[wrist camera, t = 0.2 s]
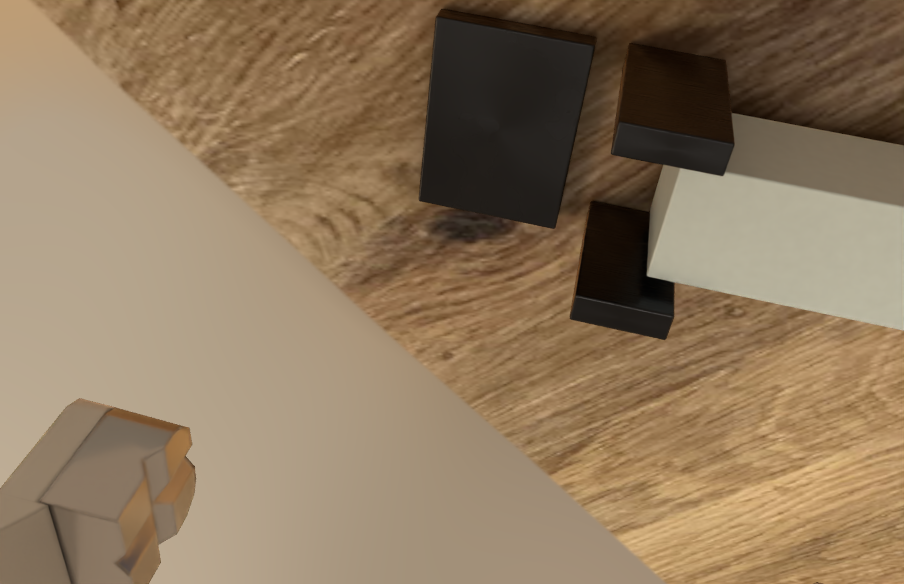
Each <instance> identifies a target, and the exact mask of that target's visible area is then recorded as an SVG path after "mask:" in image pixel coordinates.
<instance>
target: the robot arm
mask: <svg viewBox="0 0 904 584" xmlns="http://www.w3.org/2000/svg"><path fill="white" fill-rule="evenodd" d="M191 446H192V440H191V434H190V429H189V428H188V427H184V426H181V425H177V424H173V423H170V422H166V421H163V420H159V419H155V418H152V417H148V416H144V415H141V414H137V413H133V412H129V411H126V410H123V409H119V408H116V407H112V406H108V405H104V404H100V403H96V402H92V401H88V400H84V399H80V398H79V399H78V400H76V401H74V402H73V403H71V404H70V405H68V406H67V407H66V408H65V409H64V410H63V412H62V413H61V414H60V415H59V416H58V418H57V419H56V420H55V421H54V423H53V424H52V425H51V427H50V428H49V429H48V430H47V431H46V433H45V434H44V435H43V436H42V437H41V439H40V440H39V441H38V442H37V444H36V445H35V446H34V447H33V449H32V450H31V451H30V452H29V454H28V455H27V456H26V457H25V458H24V460H23V461H22V462H21V464H20V465H19V466H18V467H17V468H16V470H15V471H14V472H13V473H12V474H11V476H10V477H9V478H8V479H7V481H6V482H5V483H4V484H3V485H2V487H1V488H0V584H149V582H150V581H151V579H152V577H153V575H154V574H155V572H156V570H157V568H158V567H159V565H160V563H161V560H160V553H159V547H158V545H159V544H161V543H162V542H164V541H166V540H167V539H169V538H171V537H173V536H174V535H176V534H177V533H178V531H179V529H180V528H181V526H182V524H183V522H184V520H185V518H186V516H187V514H188V511H189V508H190V505H191V502H192V499H193V496H194V492H195V483H196V474H195V466H194V465H193V464H192V463H191V462H190V461H189V459H188V458H187V457H186V454H187V452H188V450H189V449H190V447H191ZM814 584H822V583H818V582H816V583H814Z"/></svg>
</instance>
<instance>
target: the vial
mask: <svg viewBox="0 0 904 584" xmlns="http://www.w3.org/2000/svg"><path fill="white" fill-rule="evenodd" d="M732 122H733V132H734V142H735V146H734V149H733V151H732V154H731V157H730V160H729V163H728V166H727V169H726V171H725V174H724V176H718V175H713V174H707V173H702V172H697V171H692V170H687V169H682V168H677V167H672V166H667V165H663V168H662V171H661V174H660V178H659V181H658V184H657V188H656V191H655V195H654V198H653V201H652V205H651V208H650V222H649V240H648V258H647V276H648V277H652V278H657V279H661V280H666V281H671V282H676V283H680V284H685V285H690V286H695V287H699V288H704V289H709V290H714V291H718V292H723V293H728V294H733V295H737V296H742V297H747V298H752V299H756V300H761V301H766V302H771V303H775V304H780V305H785V306H790V307H794V308H799V309H804V310H809V311H813V312H818V313H823V314H828V315H832V316H837V317H842V318H847V319H851V320H856V321H861V322H865V323H870V324H875V325H880V326H884V327H889V328H894V329H899V330H903V331H904V145H899V144H893V143H888V142H883V141H877V140H872V139H867V138H862V137H856V136H851V135H846V134H840V133H835V132H830V131H825V130H819V129H814V128H809V127H803V126H798V125H793V124H788V123H782V122H777V121H772V120H766V119H761V118H756V117H751V116H745V115H740V114H735V113H732Z"/></svg>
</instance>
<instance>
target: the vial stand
mask: <svg viewBox="0 0 904 584" xmlns="http://www.w3.org/2000/svg"><path fill="white" fill-rule="evenodd" d="M596 40H597V38H596V37H594V36H589V35H583V34H578V33H572V32H567V31H562V30H556V29H551V28H545V27H540V26H534V25H529V24H523V23H518V22H512V21H507V20H501V19H496V18H491V17H485V16H480V15H474V14H469V13H463V12H458V11H452V10H447V9H441V10H440V12H439V13H438V15H437V16H436V21H435V31H434V42H433V53H432V63H431V74H430V84H429V95H428V106H427V116H426V127H425V137H424V148H423V158H422V169H421V180H420V190H419V201H422V202H427V203H432V204H437V205H441V206H446V207H451V208H456V209H461V210H466V211H470V212H475V213H480V214H485V215H490V216H495V217H499V218H504V219H509V220H514V221H519V222H523V223H528V224H533V225H538V226H543V227H548V228H552V229H555V228H556V223H557V219H558V214H559V210H560V205H561V201H562V196H563V191H564V187H565V182H566V178H567V173H568V169H569V164H570V159H571V155H572V150H573V146H574V141H575V137H576V132H577V127H578V123H579V118H580V114H581V109H582V105H583V100H584V95H585V91H586V86H587V82H588V77H589V72H590V68H591V63H592V59H593V54H594V50H595V45H596ZM734 146H735V142H734V132H733V122H732V113H731V103H730V94H729V84H728V75H727V65H726V61H725V60H721V59H715V58H710V57H704V56H699V55H693V54H688V53H682V52H677V51H671V50H666V49H660V48H655V47H650V46H644V45H639V44H633V43H630V44H629V46H628V50H627V54H626V58H625V62H624V66H623V70H622V77H621V84H620V91H619V98H618V106H617V113H616V120H615V127H614V134H613V142H612V149H611V154H612V155H616V156H621V157H626V158H631V159H636V160H641V161H647V162H652V163H657V164H662V165H667V166H672V167H677V168H682V169H687V170H692V171H697V172H702V173H707V174H713V175H718V176H724V174H725V171H726V169H727V166H728V163H729V160H730V157H731V154H732V151H733V149H734ZM649 222H650V213H648V212H643V211H638V210H633V209H628V208H623V207H618V206H613V205H608V204H603V203H598V202H593V201H591V203H590V206H589V210H588V214H587V218H586V222H585V228H584V234H583V240H582V246H581V252H580V258H579V264H578V270H577V276H576V282H575V288H574V294H573V300H572V306H571V312H570V319H571V320H575V321H580V322H585V323H589V324H594V325H598V326H603V327H607V328H612V329H617V330H621V331H626V332H630V333H635V334H640V335H644V336H649V337H653V338H658V339H663V340H665V339H666V338H667V336H668V333H669V330H670V327H671V324H672V322H673V319H674V293H675V282H671V281H666V280H661V279H657V278H652V277H648V276H647V258H648V240H649Z"/></svg>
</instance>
